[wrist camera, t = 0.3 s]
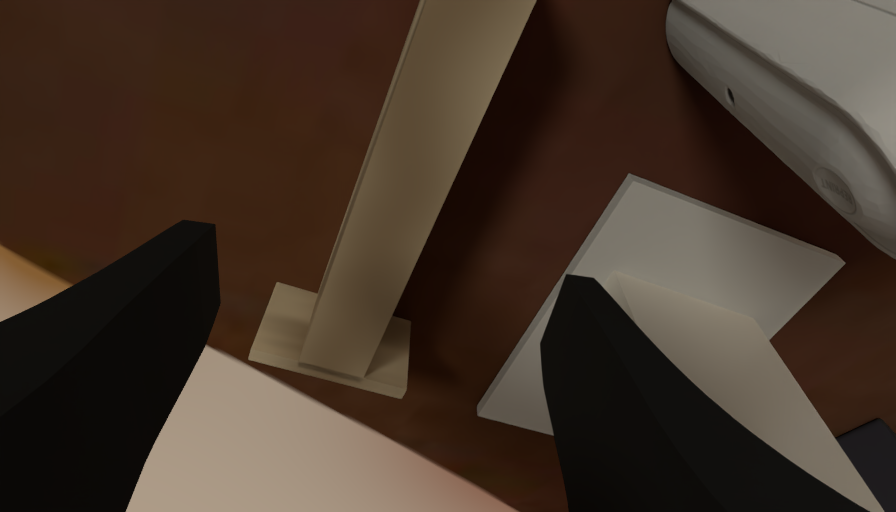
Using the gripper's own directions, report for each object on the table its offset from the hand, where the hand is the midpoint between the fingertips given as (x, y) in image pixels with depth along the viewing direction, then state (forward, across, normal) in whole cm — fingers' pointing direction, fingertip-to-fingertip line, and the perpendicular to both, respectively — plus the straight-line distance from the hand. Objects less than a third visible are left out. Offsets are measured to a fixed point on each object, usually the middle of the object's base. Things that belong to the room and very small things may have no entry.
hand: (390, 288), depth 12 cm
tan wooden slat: (+10, 0, +2) cm, 10 cm away
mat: (+10, -12, +9) cm, 17 cm away
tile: (+9, -12, +6) cm, 16 cm away
